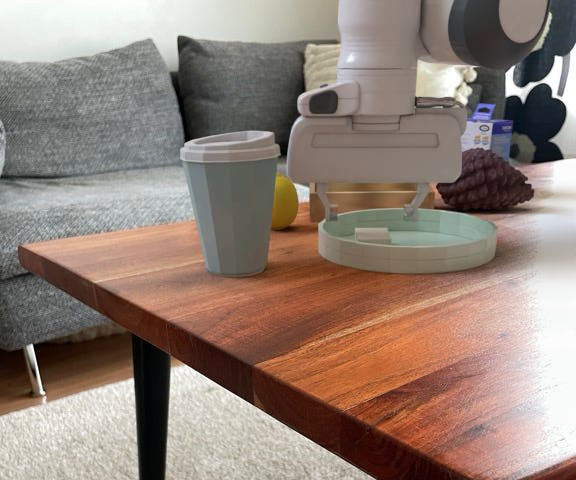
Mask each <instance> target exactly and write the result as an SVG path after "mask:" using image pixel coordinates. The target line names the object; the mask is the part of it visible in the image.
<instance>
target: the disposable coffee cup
mask: <svg viewBox="0 0 576 480" xmlns="http://www.w3.org/2000/svg"><path fill="white" fill-rule="evenodd" d="M275 138H276V137H275V132H273V131H266V130H244V131H236V132H227V133H221V134H215V135H214V134H213V135H209V136H203V137H199V138H194V139H191V140H189V141H187V142H185V143H184V144H183V147H181V148H180V149H179V160H181V161H182V166H183V171H184V175H185V179H186V185H187V189H188V192H189V193H188V194H189V198H190V203H191V207H192V211H193V215H194V221H195V225H196V228H197V233H198V237H199V241H200V246H201V250H202V256H203V260H204V264H205V268H206V269H207V271H209V273H210V274H212V275H214V276H219V277H224V278H225V277H226V278H242V277H251V276H254V275H257V274H258V275H259V274H260V273H263V272H264V270H265V269H266V267H267V266H268V262H269V261H268V260H269V252H270V241H271V231H272V230H271V229H272V227H271V222H272V212H273V202H274V192H275V182H276V173H278V172H277V171H278V162H279V160H278V159H279V156H281V155H282V154H281V147H280V145H279V143H276V140H275Z"/></svg>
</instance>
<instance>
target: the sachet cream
mask: <svg viewBox="0 0 576 480" xmlns="http://www.w3.org/2000/svg"><path fill="white" fill-rule="evenodd" d="M355 241H358V242H363V243H371V244H382V245H392V239H391V236H390V234H389V231H388V229H387V228H355Z"/></svg>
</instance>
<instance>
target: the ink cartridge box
mask: <svg viewBox="0 0 576 480" xmlns="http://www.w3.org/2000/svg"><path fill="white" fill-rule="evenodd" d="M496 107H497V104H495V103H483V102H482V103H480V102H479V103H478V105H477V107H476V108H475V110H474V112H473V115H472V117H469V118H468V117H467V126H466V130H465V132H464V134H463V135H462V136H461V144H462V152H463V151H466V150H469V149H471V148H473V149H476V148H478V147H479V148H483V149H484V150H488V149H490V150H491V151H492V152H493V153H496V154H497V155H498V156H499V157H503V158H504V161H507V162H509V163H510V153H511V145H512V137H513V128H514V120H508V119H493V118H492V117H493V114H494V112H495V110H496ZM483 109H488V110H489V112H483V111H480V110H483Z"/></svg>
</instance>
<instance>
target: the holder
mask: <svg viewBox="0 0 576 480" xmlns="http://www.w3.org/2000/svg"><path fill="white" fill-rule="evenodd" d="M308 190H309V191H308V199H309V200H308V201H309V202H308V204H309V205H308V207H309V208H308V209H309V211H308V212H309V213H308V214H309V215H308V217H309V218H308V219H309V220H308V222H309V223H320V222H321V221H323V220H324V219H325V207H324V205H323V203H322V201H321V200H320V198H319V196H318V194H317V183H309V189H308ZM417 193H418V192H417V191H416V189H415V183H329V184H328V192H325V194H326V196H327V198H328V200H329V202H330V203H331V204H337V205H338V213H337V214H341V213H347V212H352V211H359V210H369V209H385V208H404V204H411V203H412V201H413V199H414V198H415V196H416V195H417ZM435 198H436V191H435V190H434V188H432V187H431V185H429V193H428V194H427V196H426V197H425V199H424V200H423V202H422V203H421V205H420V206H419V207H418V208H420V209H434V210H435Z"/></svg>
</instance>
